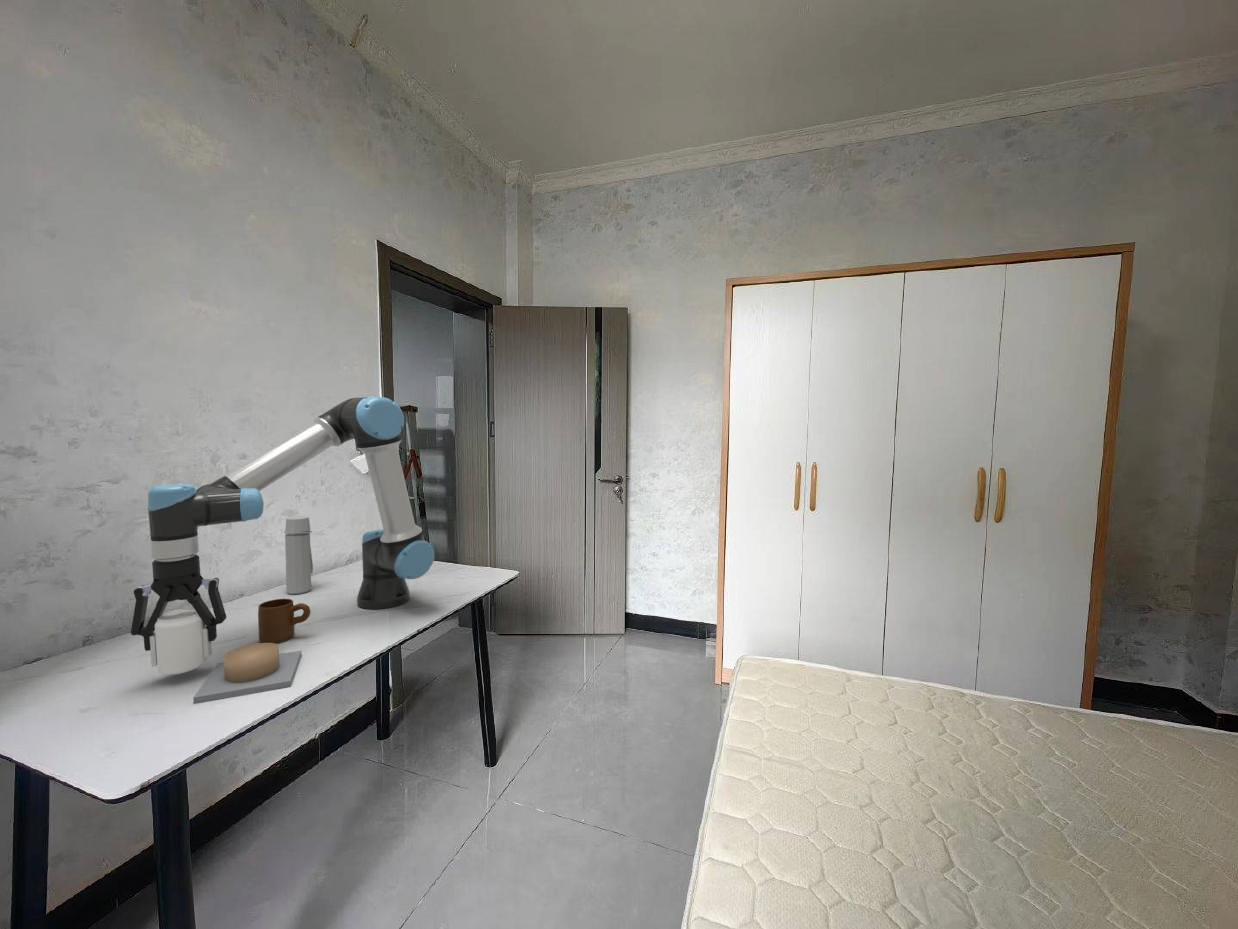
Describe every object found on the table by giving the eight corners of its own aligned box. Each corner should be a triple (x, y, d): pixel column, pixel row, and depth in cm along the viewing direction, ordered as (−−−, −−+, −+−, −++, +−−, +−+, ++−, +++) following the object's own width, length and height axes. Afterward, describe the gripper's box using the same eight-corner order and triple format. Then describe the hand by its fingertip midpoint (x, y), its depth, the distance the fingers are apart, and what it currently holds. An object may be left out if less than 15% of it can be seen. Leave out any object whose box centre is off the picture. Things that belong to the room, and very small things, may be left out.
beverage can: (178, 659, 111) (175, 607, 110) (216, 658, 111) (213, 606, 110) (147, 677, 103) (143, 621, 102) (188, 676, 103) (184, 620, 102)
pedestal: (301, 655, 118) (300, 632, 118) (290, 686, 104) (289, 660, 103) (218, 668, 111) (217, 644, 111) (193, 703, 97) (192, 675, 96)
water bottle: (300, 596, 160) (298, 520, 158) (279, 594, 162) (277, 519, 160) (322, 587, 169) (320, 515, 167) (302, 585, 171) (301, 514, 169)
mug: (317, 631, 132) (317, 597, 131) (303, 643, 124) (302, 607, 124) (269, 633, 131) (269, 598, 130) (252, 645, 123) (250, 608, 122)
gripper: (240, 548, 113) (246, 643, 115) (119, 558, 104) (127, 662, 106) (231, 555, 106) (237, 657, 108) (100, 567, 97) (109, 678, 99)
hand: (182, 659), depth 107 cm, fingers closed on beverage can, 8 cm apart
